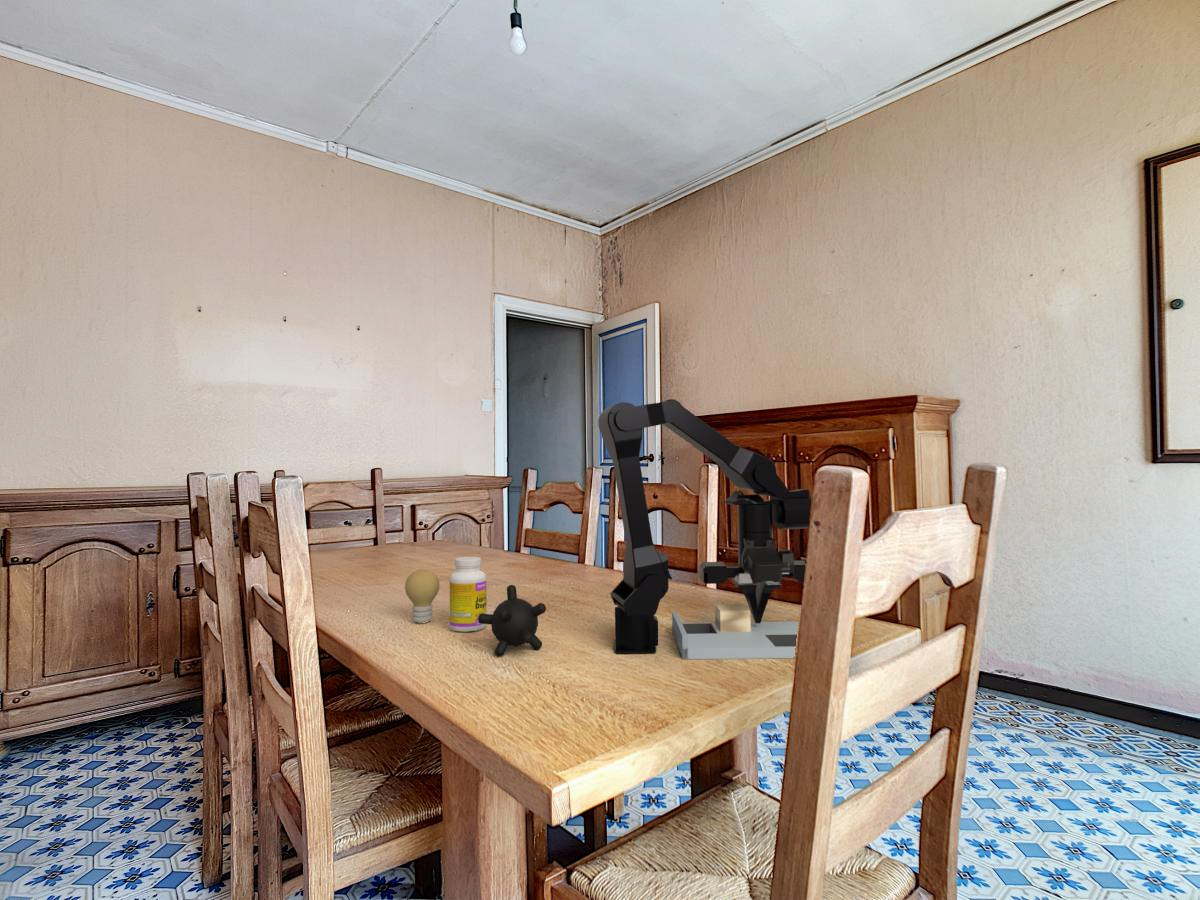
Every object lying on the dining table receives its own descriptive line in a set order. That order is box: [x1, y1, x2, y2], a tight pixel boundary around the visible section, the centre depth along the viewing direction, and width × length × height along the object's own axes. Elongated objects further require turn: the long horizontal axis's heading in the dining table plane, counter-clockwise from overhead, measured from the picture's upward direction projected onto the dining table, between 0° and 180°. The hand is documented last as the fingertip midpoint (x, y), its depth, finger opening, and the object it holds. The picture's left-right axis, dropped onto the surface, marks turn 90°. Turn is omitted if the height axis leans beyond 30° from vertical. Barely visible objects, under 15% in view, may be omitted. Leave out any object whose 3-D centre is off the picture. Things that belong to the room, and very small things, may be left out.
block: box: [714, 603, 752, 632], centre depth 103 cm, size 5×5×4 cm
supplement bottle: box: [449, 556, 488, 632], centre depth 112 cm, size 7×7×13 cm
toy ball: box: [478, 584, 547, 657], centre depth 98 cm, size 11×11×12 cm
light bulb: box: [404, 569, 440, 623], centre depth 117 cm, size 6×6×10 cm
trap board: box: [671, 610, 798, 660], centre depth 99 cm, size 23×15×4 cm, turn 89°
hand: (757, 622), depth 103 cm, fingers closed
